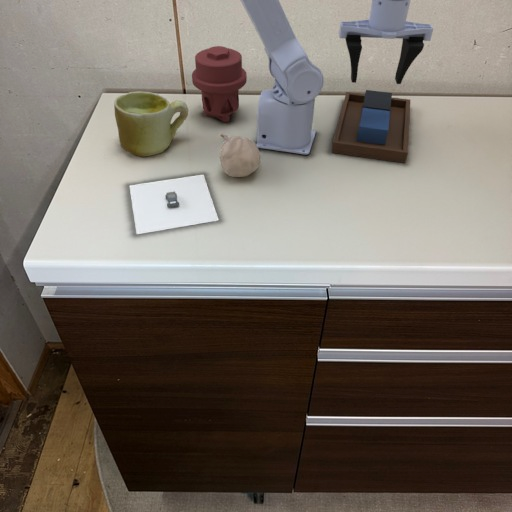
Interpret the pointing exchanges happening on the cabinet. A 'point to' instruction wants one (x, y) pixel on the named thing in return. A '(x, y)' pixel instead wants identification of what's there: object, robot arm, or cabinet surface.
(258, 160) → the garlic bulb
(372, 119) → the blue block
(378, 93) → the charcoal block
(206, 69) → the mechanical component
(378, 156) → the tray
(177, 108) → the mug
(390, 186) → the cabinet surface
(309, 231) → the cabinet surface
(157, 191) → the white paper sheet
